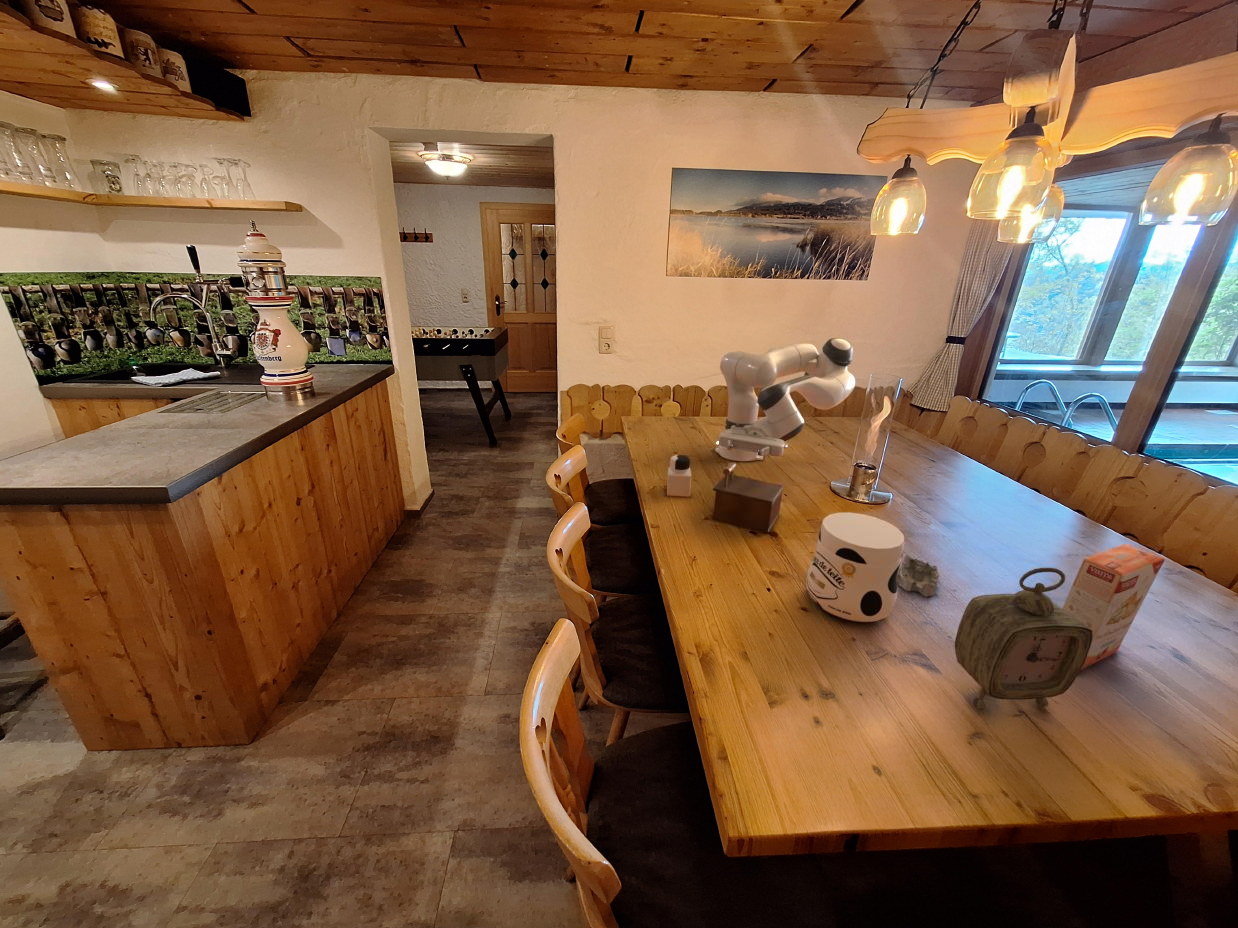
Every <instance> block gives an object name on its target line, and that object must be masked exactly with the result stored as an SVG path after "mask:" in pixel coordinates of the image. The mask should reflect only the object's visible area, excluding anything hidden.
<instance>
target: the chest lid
mask: <svg viewBox="0 0 1238 928" xmlns="http://www.w3.org/2000/svg"><path fill="white" fill-rule="evenodd" d="M736 468H737V463H736V462H730V463H729V464H728V465H726V466H725V467H724V469H723V470H722V474H723V475H724V476H723V477H722V478H721V479H720V480H719V481H718V482H717V483H716V484H715V485H714V486H713V488H712V491H713V492H716V491H717V492H721V493H725V494H730V495H734V496H738V497H743V498H747V499H751V500H756V501H760V502H764V503H769V504H772V503H773V502H774V500H775V499H776V497H777V496H778V494H779V493H780V491H781V490H782V488H783V489H784V485H783V484H779V483H773V482H769V481H764V480H761V479H760V480H759V479H755V478H749V477H745V476H742V475H741V476H740V475H735V474H734V471H735V469H736Z"/></svg>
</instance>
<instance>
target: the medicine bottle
mask: <svg viewBox="0 0 1238 928" xmlns="http://www.w3.org/2000/svg"><path fill="white" fill-rule="evenodd" d="M669 464H670V465H669V466H668V468H667V481H666V495H667V496H670V497H684V498H685V497H686V498H687V497H691V487H692V485H691V484H692V469H691V467H690V465H691V458H690V457H688V456H687V455H684V454H675V455H672V456H671V457H670V463H669Z"/></svg>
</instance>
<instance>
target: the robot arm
mask: <svg viewBox="0 0 1238 928" xmlns="http://www.w3.org/2000/svg"><path fill="white" fill-rule="evenodd" d="M853 347H854V346H852V344H851V342H849V341H848V340H846V339H844V338H842V337H832V338H829V339H828V340H827V341H826V342H825V343H824V345H823V346H822V348H821V351H820V352H818V349H817V348H816V346H815V345H813V344H812V343H808V342H805V343H804V342H799V343H797V342H796V343H792V344H784V345H781V346H776V347H772V348H769V349H768V350H767V351H766V353H763V354H756V353H750V352H745V351H741V350H740V351H739V350H737V351H729V352H726V353H725V354H724V355H723V356H722V358H721V360H720V363H719V369H720V372H721V374H722V376H723V377H724V380H725V384H726V389H727V394H728V395H727V396H728V407H727V417H726V419H725V421H724V422H725V423H724V428H725V429H724V430H722V431H721V432H720V434H719V436H718V441H716V445H718V447H716V448H714V452H715V453H717V454H718V455H719V456H720V457H722V458H724V459H726V460H730V461H735V462H752V461H762V460H763V459H764V456H766V455H767V456H771V457H772V456H773V457H778V458H779V457H782V456H783V455H784V449H787V448H788V447H789V443H786V441H789V440H792V439H793V438H795V437H796V436H797V435H799V434H800V433H801V432H802V431H803V429H804V426H805V423H806V421H805V420H804V417H803V416H802V414H801V412H800V411H799V409H798V407H797V405H796V404H795V402H794V400H793V398H792V396H791V394H792V393H794V392H796V393H798V394H800V395H801V396H802V397H803V398H804V399H805V400H806V401H807V403H808V404H809V405H810V406H812V407H813V408H815V409H817V410H822V411H827V410H830V409H833V408H835V407H836V406H838V405H840V404H841V403H842V402H844V401H845V400H846V399H847V398H848V397H849V396H850V395H851V393H852V392H853V391H854V389H855V387H856V379H855V377H854V375H853V374H852V372H849V371H848V367H849V365H851V364H852V362H853V361H852V360H853V355H854V354H853V353H854V348H853ZM799 373H804V375H803V376H799V377H796V378H793V379H790V380H786V381H783V382H779V383H775V382H776V381H777V379H778V378H782V377H786V376H791V375H794V374H799ZM755 388H756V389H757V388H758V389H761V390H760V391H759V392H758V395H757V393H756V392H755ZM759 409H761V410H762V412H763V413H764V415H765V416H763V417H760V418H758V416H759Z"/></svg>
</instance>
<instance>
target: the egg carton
mask: <svg viewBox="0 0 1238 928" xmlns="http://www.w3.org/2000/svg"><path fill="white" fill-rule="evenodd" d="M899 575H900V581H899V587H901V588H902V589H904V590H905V591H907V592H911V591H914V592H919V593H920V594H921V596H923V597H929V596H934V595H935V592H936V591H937V584H938V582H939V578H940V573H939V571H938V567H937V565H931V564H930V562H928V561H927V562H924V561H923V560H921V559H918V558H914V557H911V556H909V555H905V556H904V557H903V561H902V562H901V564H900V568H899Z"/></svg>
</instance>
